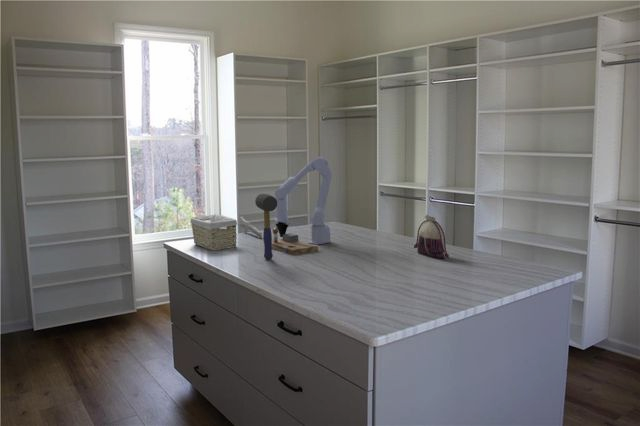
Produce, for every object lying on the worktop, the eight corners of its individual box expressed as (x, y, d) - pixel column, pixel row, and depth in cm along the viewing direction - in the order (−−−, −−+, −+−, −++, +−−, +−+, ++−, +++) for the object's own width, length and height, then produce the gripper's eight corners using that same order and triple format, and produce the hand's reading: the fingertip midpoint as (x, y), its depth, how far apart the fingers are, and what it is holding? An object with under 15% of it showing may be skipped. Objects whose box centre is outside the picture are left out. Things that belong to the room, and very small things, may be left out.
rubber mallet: (280, 261, 248) (278, 194, 243) (264, 263, 245) (262, 196, 240) (271, 256, 259) (269, 192, 255) (256, 257, 256) (253, 193, 252)
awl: (276, 241, 281) (276, 227, 280) (279, 242, 279) (279, 228, 278) (271, 242, 279) (271, 228, 278) (274, 242, 277) (274, 229, 276)
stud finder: (291, 239, 286) (290, 233, 285) (298, 241, 280) (298, 234, 280) (282, 240, 283) (282, 234, 283) (290, 242, 277) (289, 236, 277)
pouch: (405, 252, 259) (405, 212, 256) (418, 250, 264) (418, 210, 261) (444, 262, 238) (445, 218, 236) (458, 259, 243) (458, 216, 240)
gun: (242, 228, 328) (242, 216, 326) (262, 245, 304) (262, 232, 301) (239, 228, 328) (239, 216, 325) (259, 246, 303) (259, 232, 300)
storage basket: (239, 247, 281) (238, 218, 279) (210, 252, 272) (208, 222, 270) (218, 240, 300) (217, 213, 298) (190, 244, 291) (188, 217, 289)
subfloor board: (290, 242, 289) (290, 238, 288) (319, 250, 268) (318, 245, 267) (264, 246, 280) (264, 242, 280) (292, 255, 259) (292, 250, 259)
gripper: (267, 210, 289) (268, 235, 291) (282, 213, 278) (283, 239, 280) (279, 208, 293) (280, 234, 295) (294, 211, 282) (295, 238, 284)
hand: (282, 236), depth 288 cm, fingers closed
